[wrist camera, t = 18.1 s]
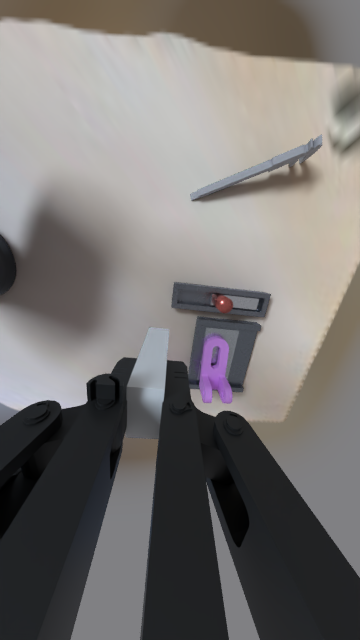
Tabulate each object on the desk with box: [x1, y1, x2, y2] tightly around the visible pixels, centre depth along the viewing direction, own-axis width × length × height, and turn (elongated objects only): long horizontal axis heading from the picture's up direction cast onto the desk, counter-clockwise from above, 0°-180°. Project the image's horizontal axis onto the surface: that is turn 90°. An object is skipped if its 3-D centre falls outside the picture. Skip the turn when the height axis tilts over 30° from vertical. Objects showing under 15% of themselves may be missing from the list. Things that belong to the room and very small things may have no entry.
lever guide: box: [172, 282, 271, 317], centre depth 36 cm, size 20×5×2 cm, turn 83°
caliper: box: [190, 135, 322, 201], centre depth 28 cm, size 20×1×6 cm, turn 107°
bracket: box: [199, 336, 232, 403], centre depth 37 cm, size 13×6×7 cm, turn 176°
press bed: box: [188, 316, 261, 392], centre depth 40 cm, size 14×18×2 cm
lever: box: [210, 293, 259, 313], centre depth 34 cm, size 10×3×6 cm, turn 83°
